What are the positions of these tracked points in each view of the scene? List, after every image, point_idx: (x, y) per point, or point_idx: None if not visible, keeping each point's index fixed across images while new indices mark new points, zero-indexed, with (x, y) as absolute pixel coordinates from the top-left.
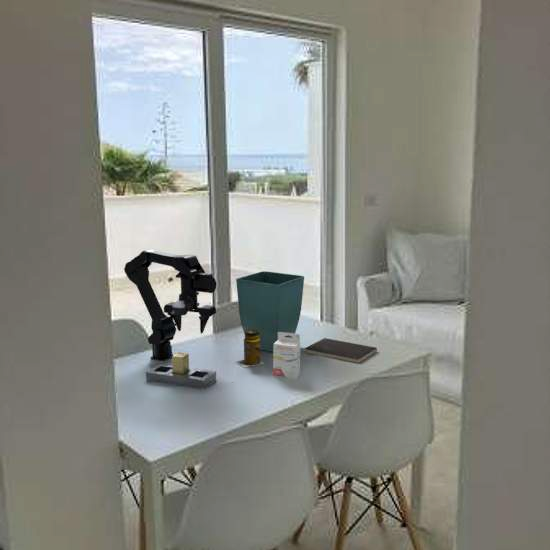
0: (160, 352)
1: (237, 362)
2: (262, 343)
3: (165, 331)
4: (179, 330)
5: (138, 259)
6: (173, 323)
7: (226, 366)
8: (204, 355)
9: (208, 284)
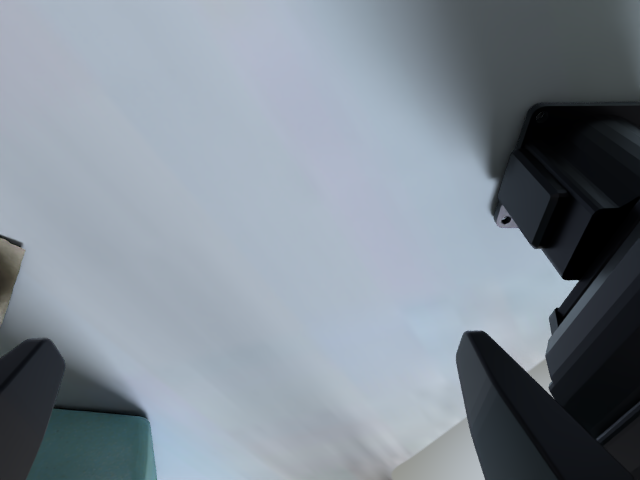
0: (607, 142)
1: (3, 244)
2: None
3: None
4: (466, 341)
5: None
6: (636, 475)
7: (4, 163)
8: (292, 282)
9: None
